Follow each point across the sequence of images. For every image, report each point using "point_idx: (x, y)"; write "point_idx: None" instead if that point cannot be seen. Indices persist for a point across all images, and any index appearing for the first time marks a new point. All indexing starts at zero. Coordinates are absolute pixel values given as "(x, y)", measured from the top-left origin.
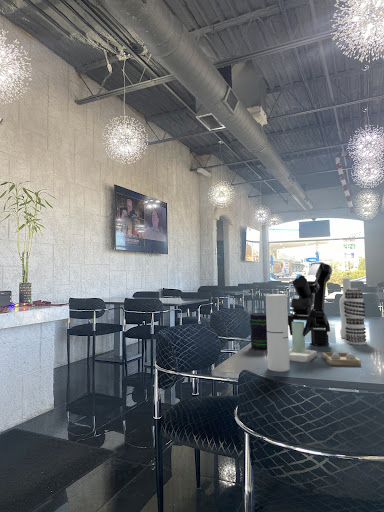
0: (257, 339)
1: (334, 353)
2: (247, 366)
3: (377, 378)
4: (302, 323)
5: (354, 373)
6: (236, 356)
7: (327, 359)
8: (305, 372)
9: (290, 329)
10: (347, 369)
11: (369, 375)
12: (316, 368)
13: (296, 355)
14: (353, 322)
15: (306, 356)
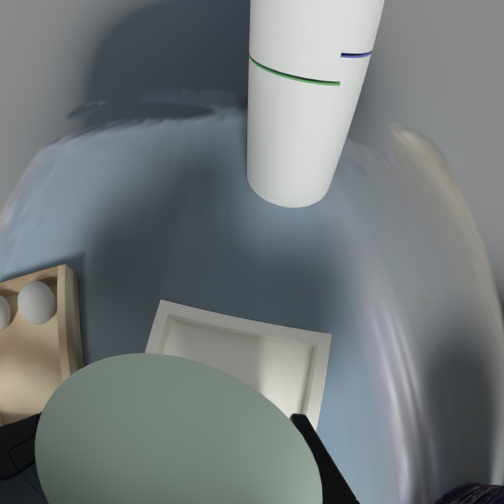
0: (500, 490)
1: (29, 289)
2: (397, 181)
3: (22, 178)
4: (59, 389)
5: (45, 199)
6: (496, 315)
7: (71, 321)
8: (188, 159)
9: (315, 456)
10: (43, 238)
11: (23, 195)
12: (140, 216)
13: (228, 322)
14: None
15: (166, 310)
